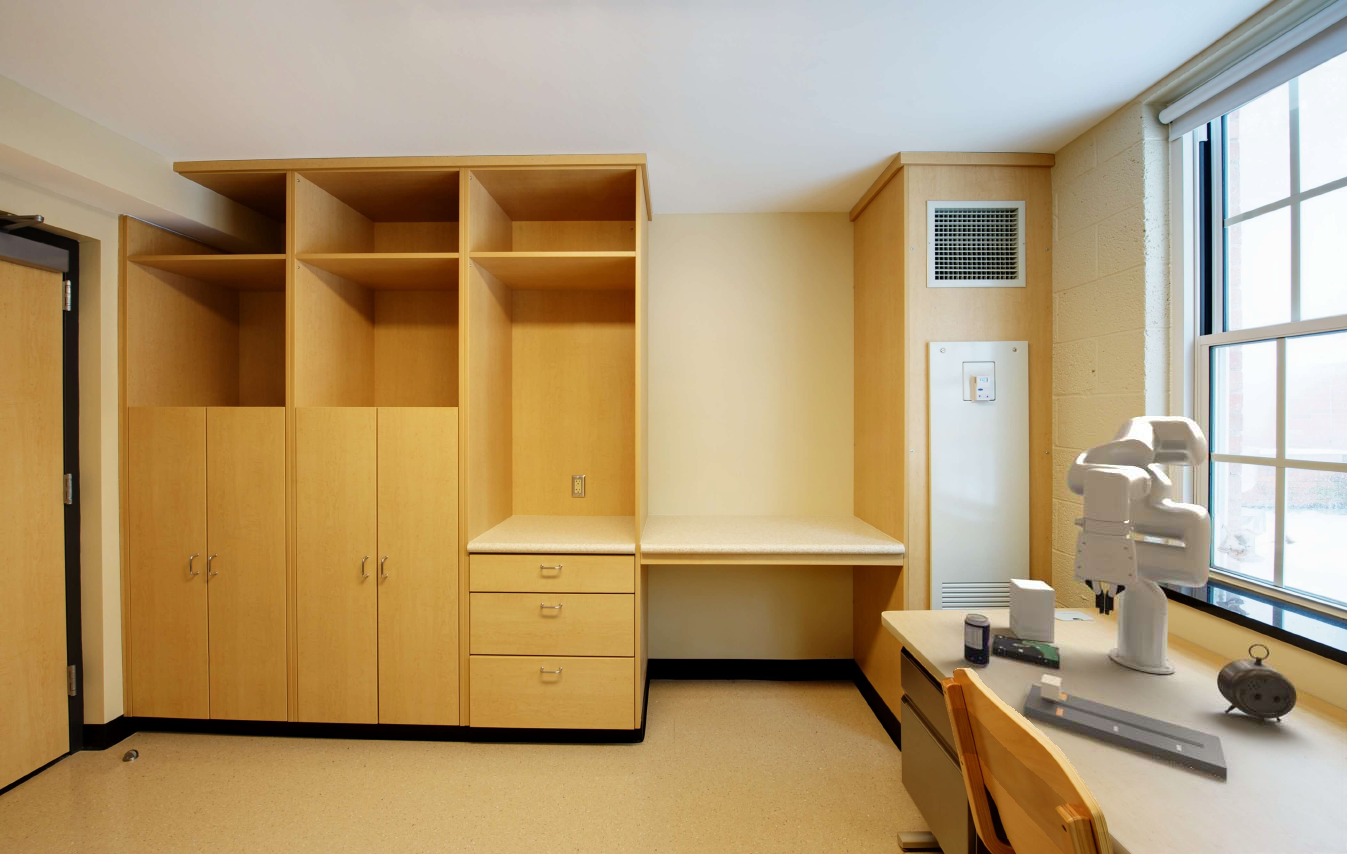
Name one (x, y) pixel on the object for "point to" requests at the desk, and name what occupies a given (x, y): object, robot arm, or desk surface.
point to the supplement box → (1032, 610)
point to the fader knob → (1051, 687)
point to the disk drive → (1026, 651)
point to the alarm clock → (1256, 688)
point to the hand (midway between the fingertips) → (1104, 612)
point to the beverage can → (977, 640)
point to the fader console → (1130, 730)
